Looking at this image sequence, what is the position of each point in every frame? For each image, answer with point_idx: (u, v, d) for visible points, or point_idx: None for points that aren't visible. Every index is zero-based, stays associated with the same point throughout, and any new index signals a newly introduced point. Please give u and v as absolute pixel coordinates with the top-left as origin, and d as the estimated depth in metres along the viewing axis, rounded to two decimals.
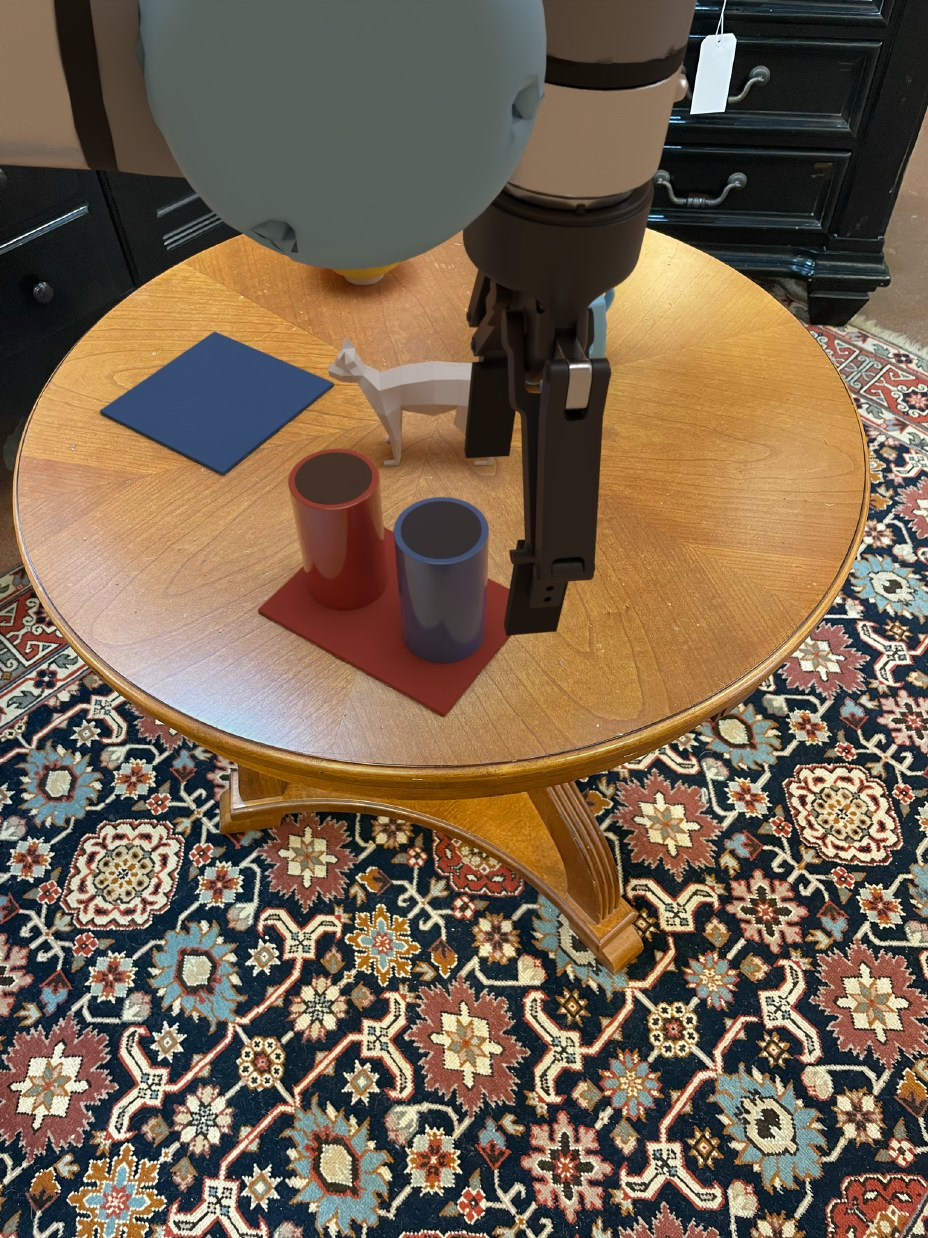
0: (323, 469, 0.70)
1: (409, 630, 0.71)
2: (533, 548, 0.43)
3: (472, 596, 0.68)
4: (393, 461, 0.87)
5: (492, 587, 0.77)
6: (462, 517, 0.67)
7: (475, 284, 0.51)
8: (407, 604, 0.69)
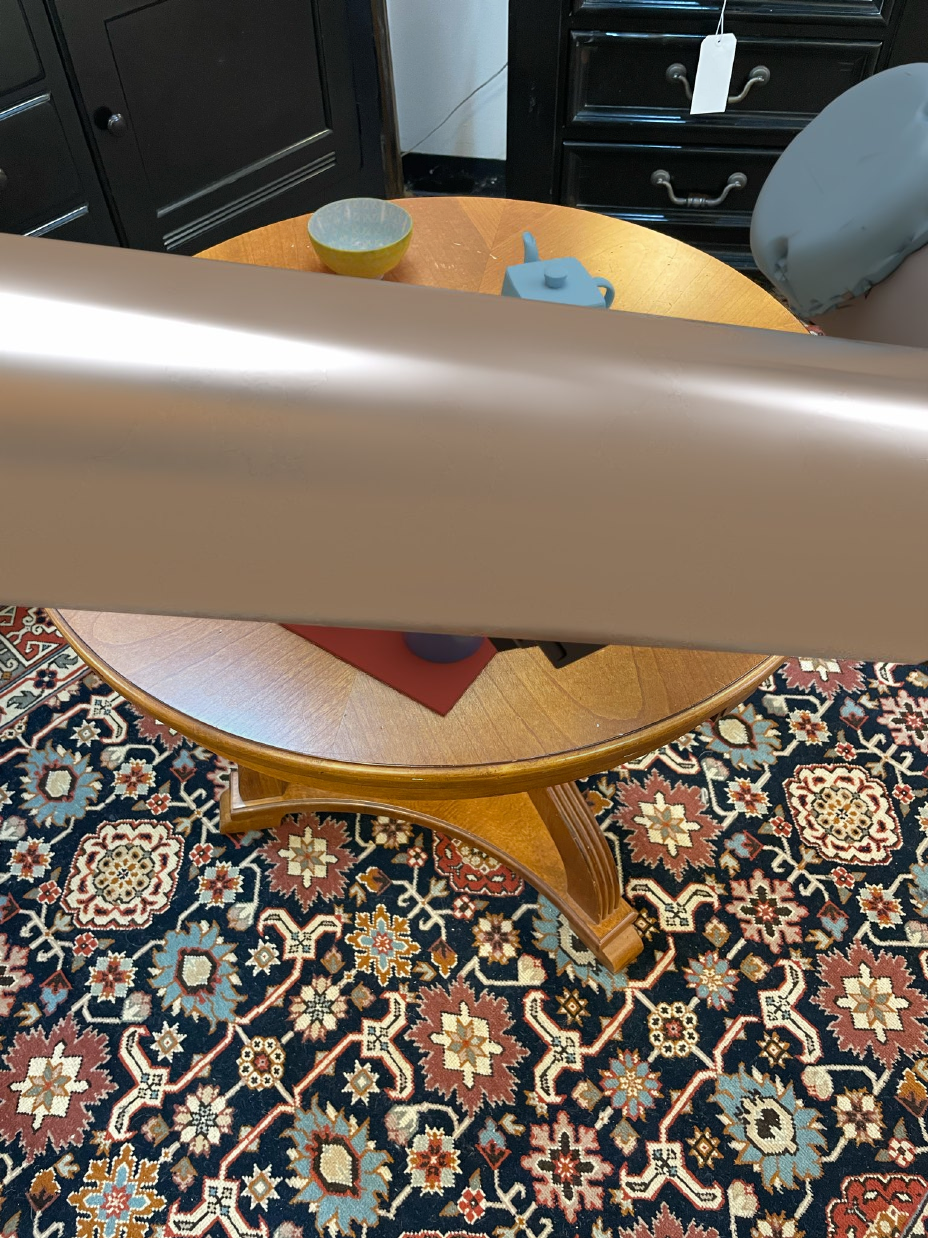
0: None
1: None
2: None
3: None
4: None
5: None
6: None
7: None
8: None
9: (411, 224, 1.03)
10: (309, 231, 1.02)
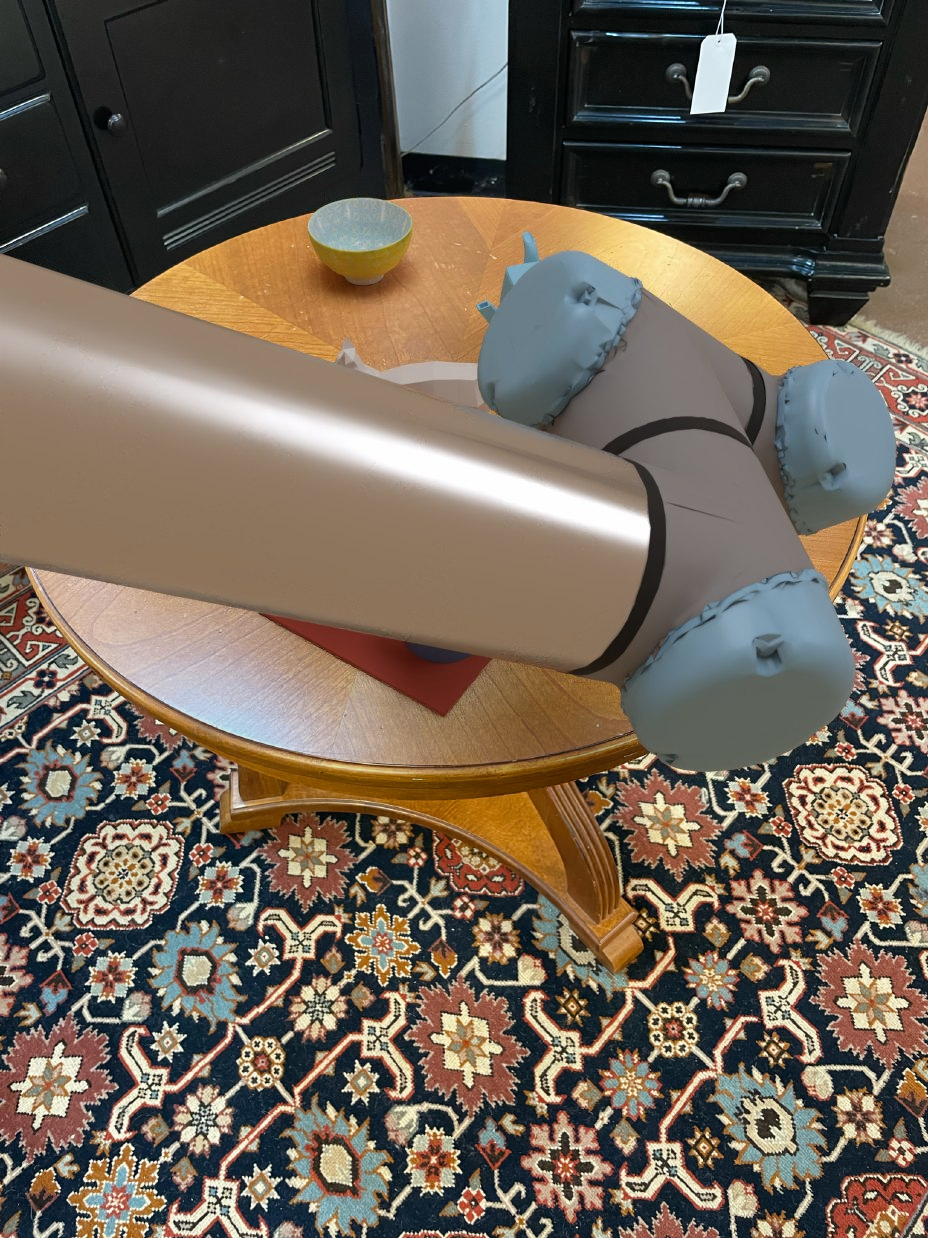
0: None
1: None
2: None
3: None
4: None
5: None
6: None
7: None
8: None
9: (411, 224, 1.03)
10: (309, 231, 1.02)
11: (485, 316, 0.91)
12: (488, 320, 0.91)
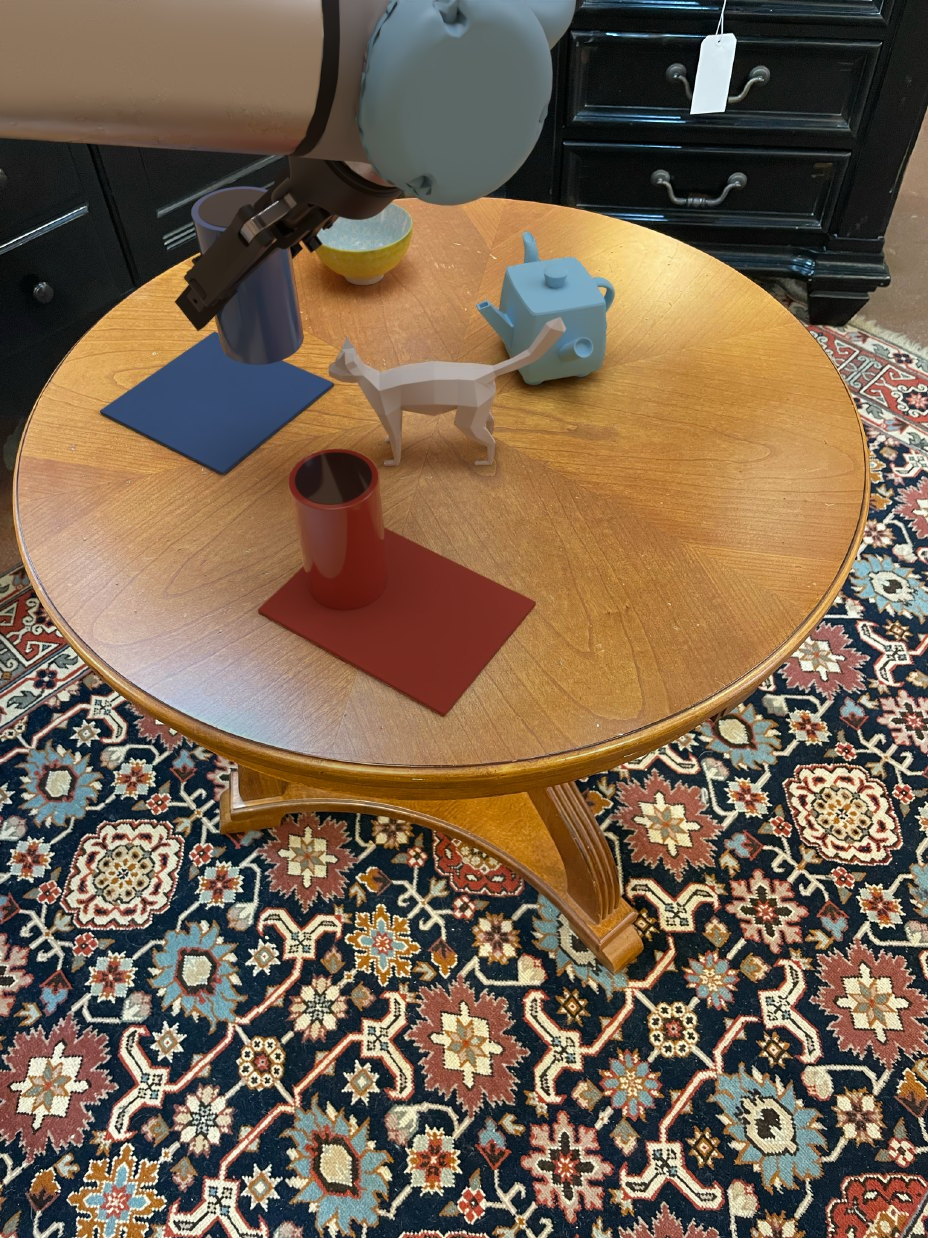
0: (323, 469, 0.70)
1: (221, 327, 0.74)
2: None
3: (272, 280, 0.70)
4: (393, 461, 0.87)
5: (492, 587, 0.77)
6: None
7: None
8: None
9: (411, 224, 1.03)
10: None
11: (485, 316, 0.91)
12: (488, 320, 0.91)
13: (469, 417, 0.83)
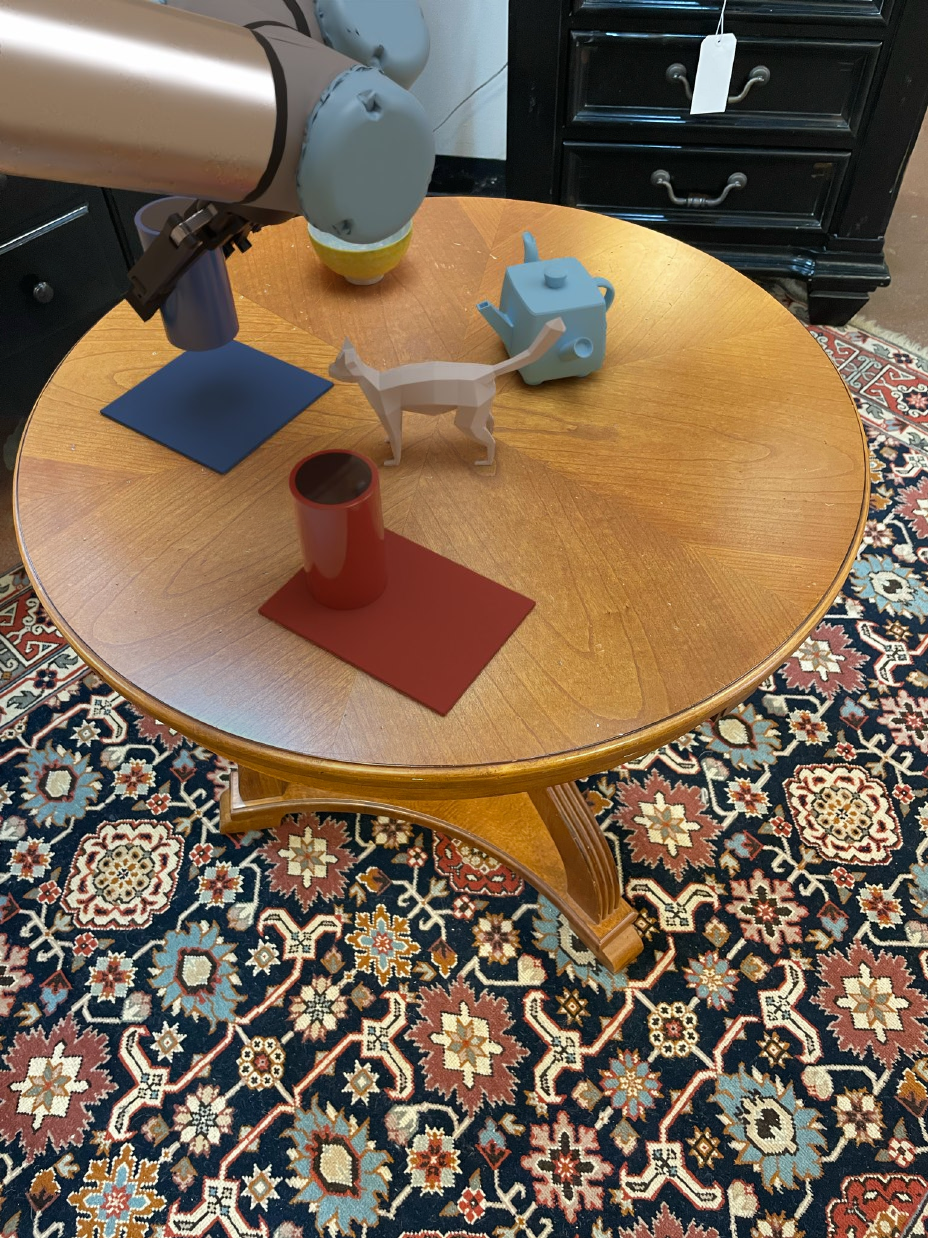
0: (323, 469, 0.70)
1: (164, 318, 0.84)
2: None
3: (206, 277, 0.81)
4: (393, 461, 0.87)
5: (492, 587, 0.77)
6: None
7: None
8: None
9: (411, 224, 1.03)
10: (309, 231, 1.02)
11: (485, 316, 0.91)
12: (488, 320, 0.91)
13: (469, 417, 0.83)
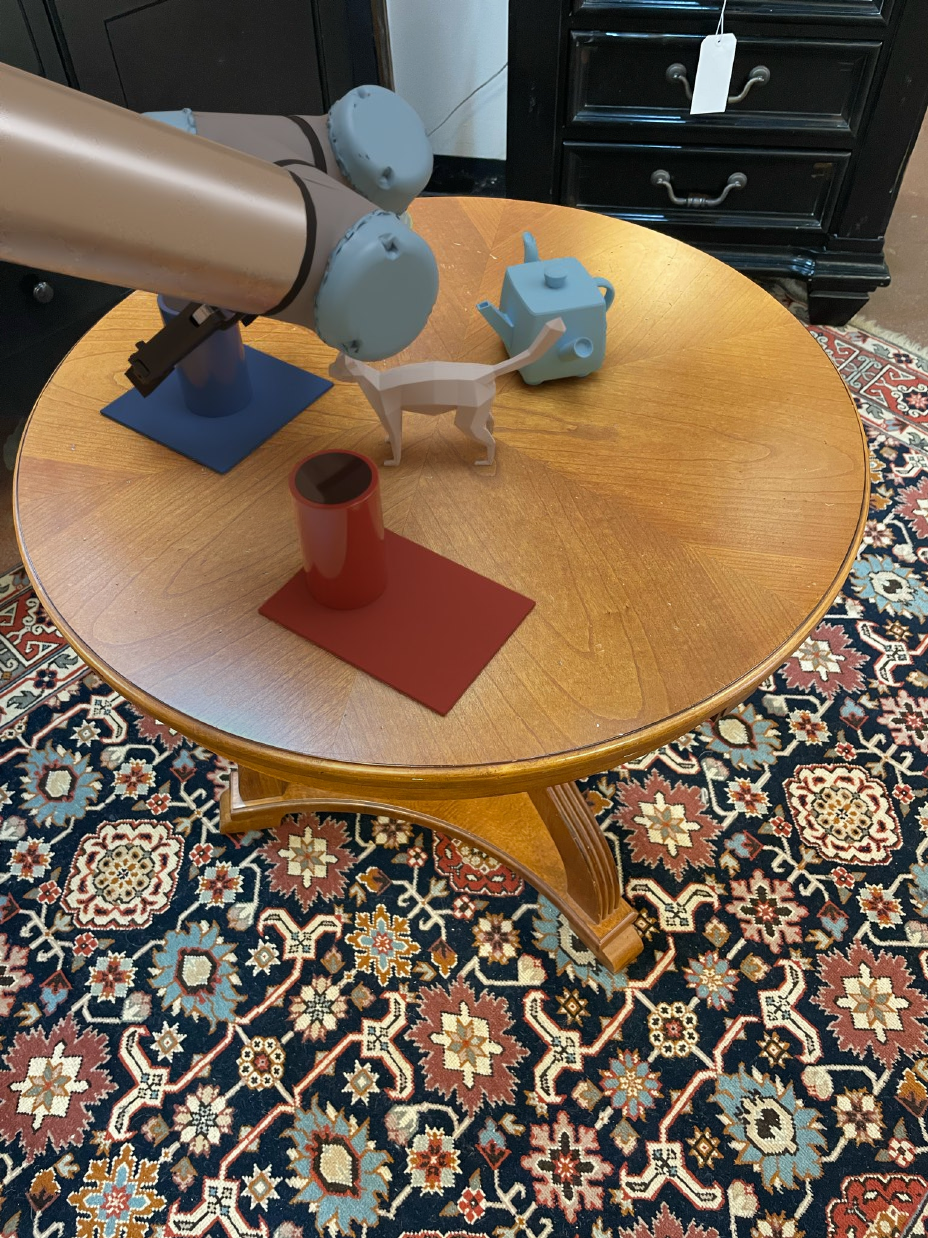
0: (323, 469, 0.70)
1: (183, 387, 0.90)
2: None
3: (223, 351, 0.86)
4: (393, 461, 0.87)
5: (492, 587, 0.77)
6: None
7: None
8: None
9: (411, 224, 1.03)
10: None
11: (485, 316, 0.91)
12: (488, 320, 0.91)
13: (469, 417, 0.83)
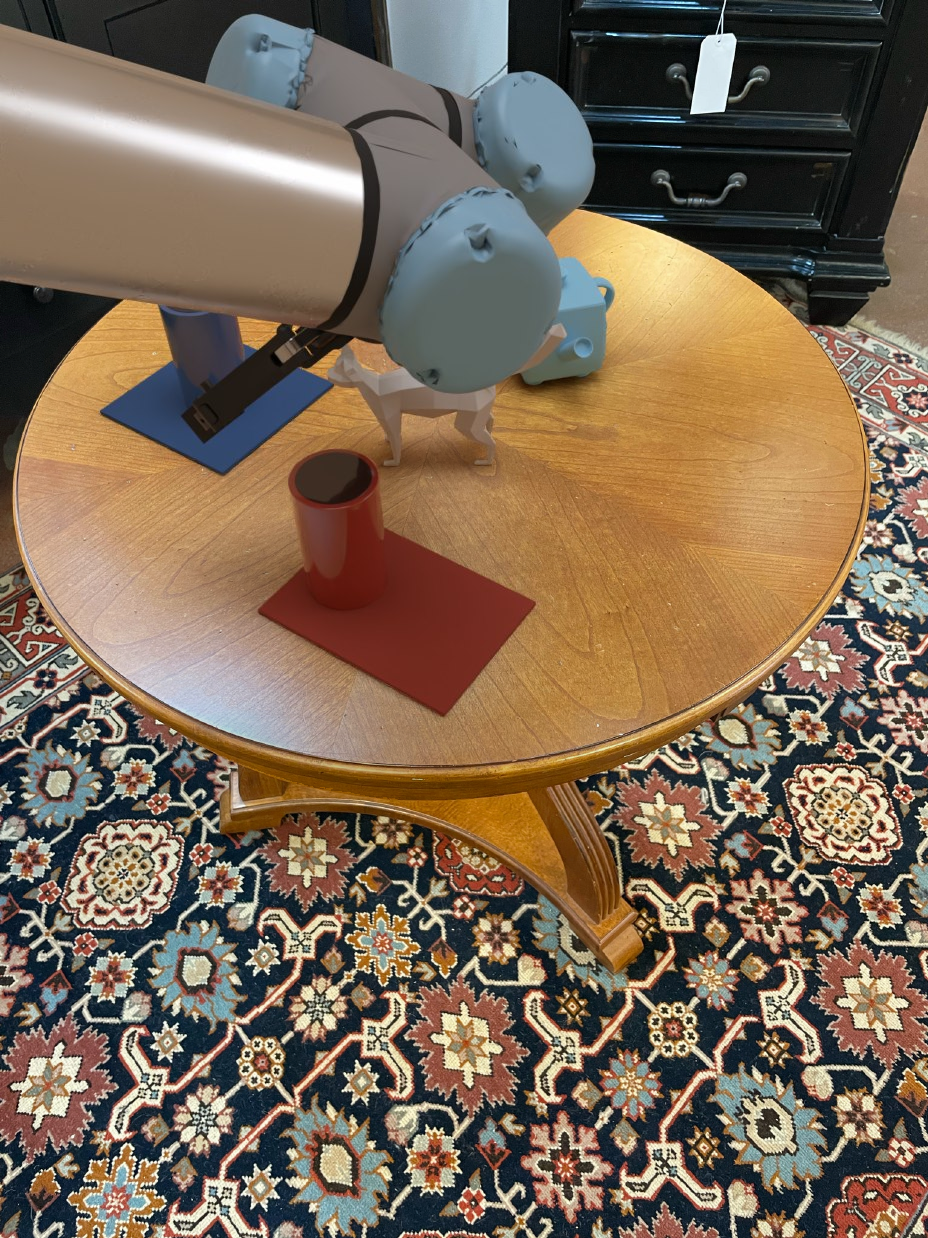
0: (323, 469, 0.70)
1: (183, 387, 0.90)
2: None
3: (223, 351, 0.86)
4: (393, 461, 0.87)
5: (492, 587, 0.77)
6: None
7: None
8: (175, 360, 0.88)
9: None
10: None
11: None
12: None
13: (469, 421, 0.83)
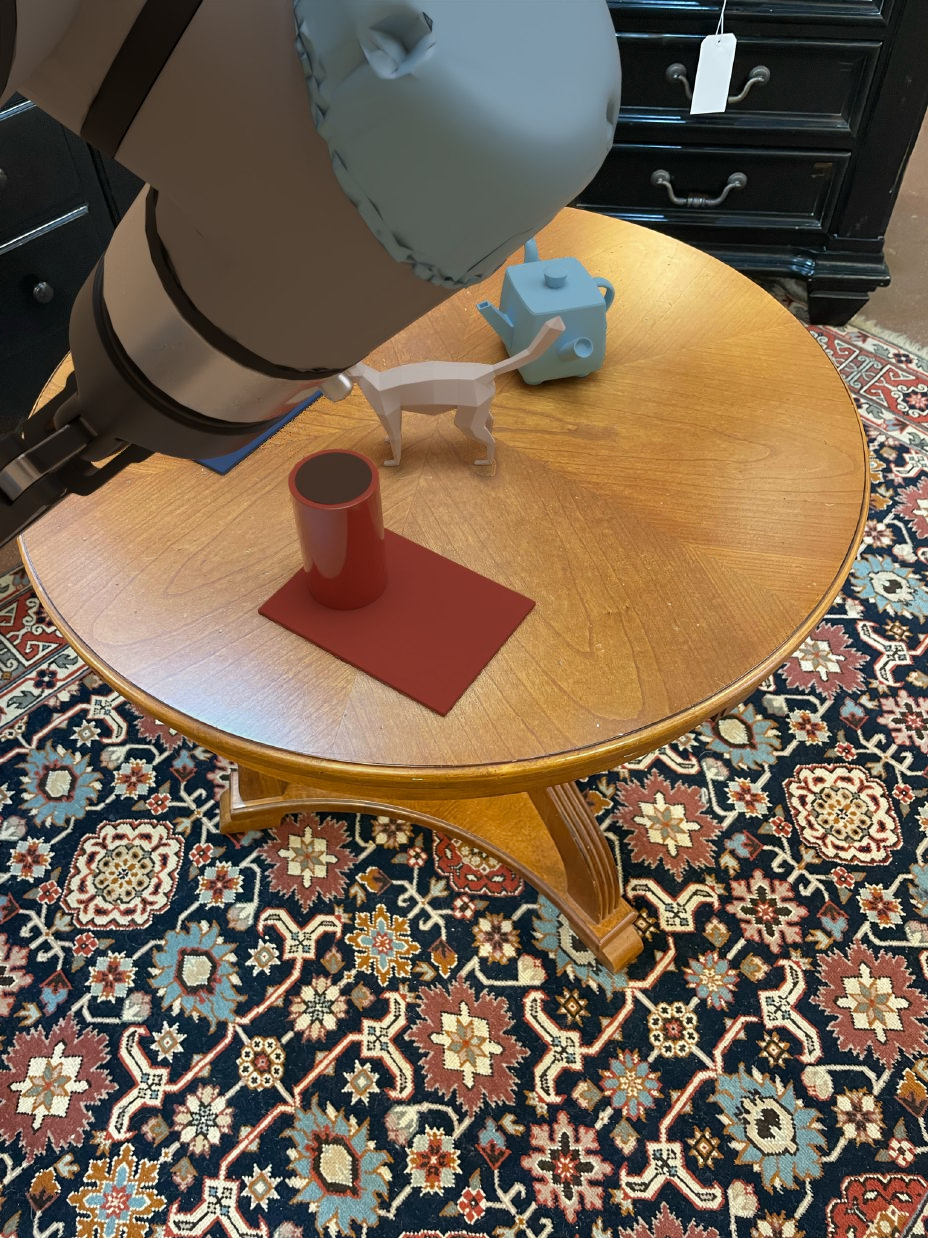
0: (323, 469, 0.70)
1: None
2: None
3: None
4: (393, 461, 0.87)
5: (492, 587, 0.77)
6: None
7: None
8: None
9: None
10: None
11: (485, 316, 0.91)
12: (488, 320, 0.91)
13: (469, 417, 0.83)
